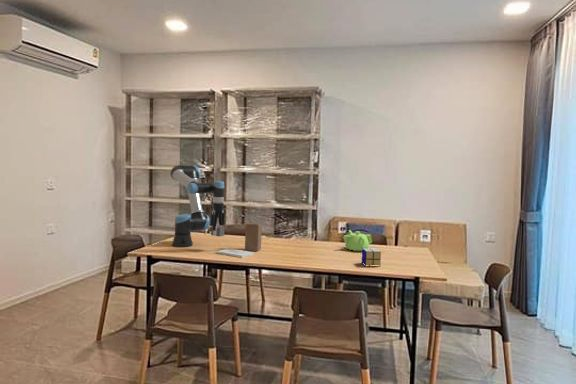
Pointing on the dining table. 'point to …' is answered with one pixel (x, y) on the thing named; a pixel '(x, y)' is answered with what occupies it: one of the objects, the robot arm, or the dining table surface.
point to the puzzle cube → (371, 256)
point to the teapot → (357, 241)
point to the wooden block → (253, 236)
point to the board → (235, 252)
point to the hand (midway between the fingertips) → (217, 234)
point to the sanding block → (218, 231)
